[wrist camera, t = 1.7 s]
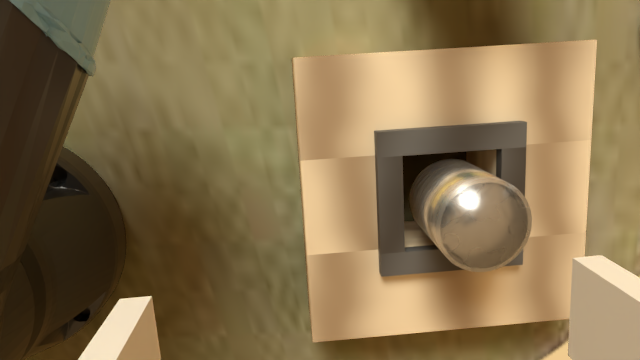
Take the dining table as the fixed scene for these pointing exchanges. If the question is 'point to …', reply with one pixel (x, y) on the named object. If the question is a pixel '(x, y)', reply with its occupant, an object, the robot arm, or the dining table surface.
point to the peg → (470, 214)
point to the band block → (430, 138)
